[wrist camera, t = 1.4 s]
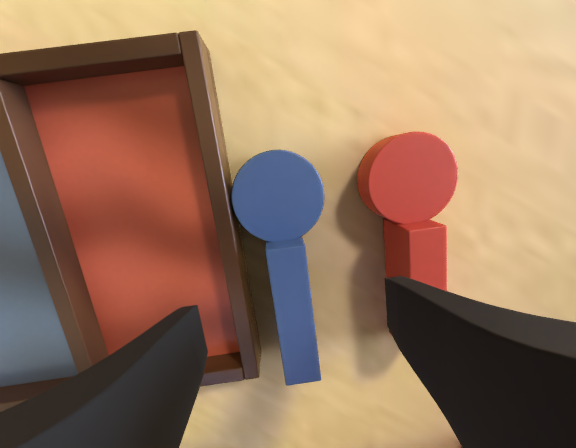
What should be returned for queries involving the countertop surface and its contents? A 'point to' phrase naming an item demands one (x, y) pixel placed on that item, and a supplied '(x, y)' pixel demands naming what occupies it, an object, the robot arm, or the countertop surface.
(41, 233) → the sorting tray
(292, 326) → the blue spoon
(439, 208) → the red spoon
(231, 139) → the countertop surface
